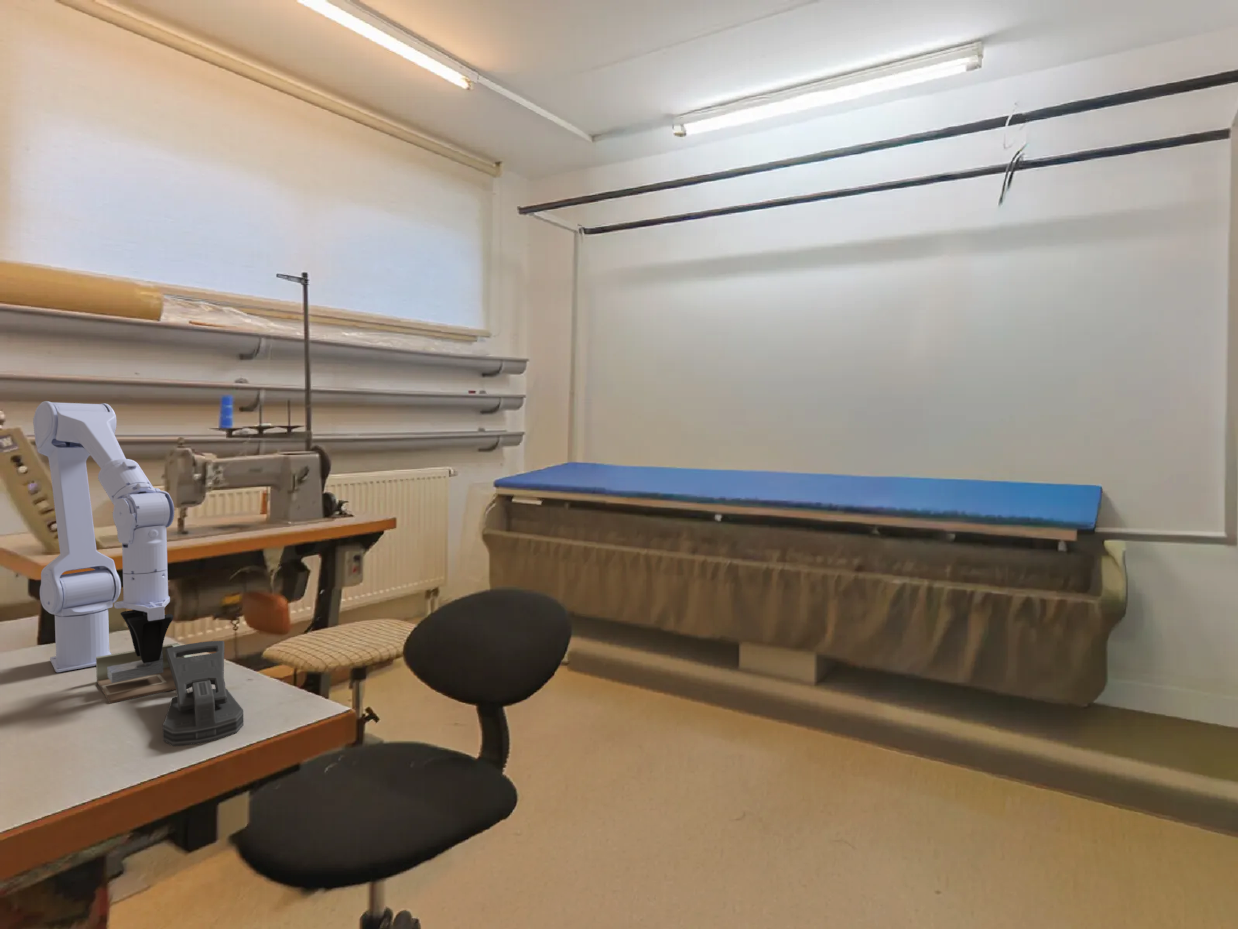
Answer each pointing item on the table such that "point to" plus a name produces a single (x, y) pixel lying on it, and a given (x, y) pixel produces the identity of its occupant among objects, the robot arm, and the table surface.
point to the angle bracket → (134, 670)
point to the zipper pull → (200, 696)
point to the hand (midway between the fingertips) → (147, 658)
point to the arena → (133, 686)
